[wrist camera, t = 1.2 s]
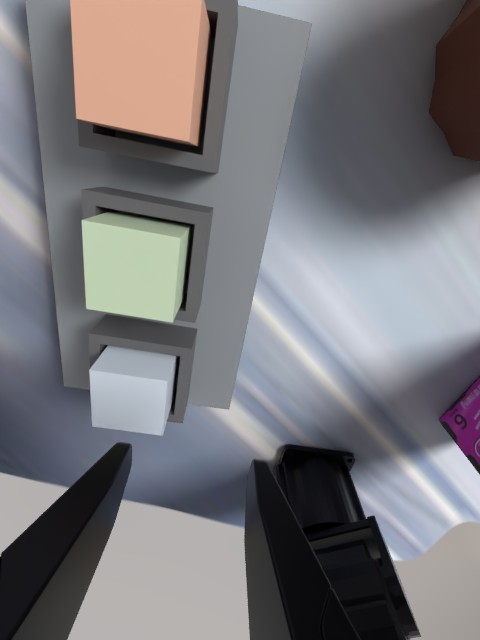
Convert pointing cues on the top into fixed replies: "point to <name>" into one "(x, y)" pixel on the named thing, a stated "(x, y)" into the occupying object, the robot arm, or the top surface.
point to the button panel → (171, 193)
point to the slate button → (132, 390)
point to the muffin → (459, 83)
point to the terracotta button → (141, 66)
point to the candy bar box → (466, 424)
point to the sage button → (135, 265)
